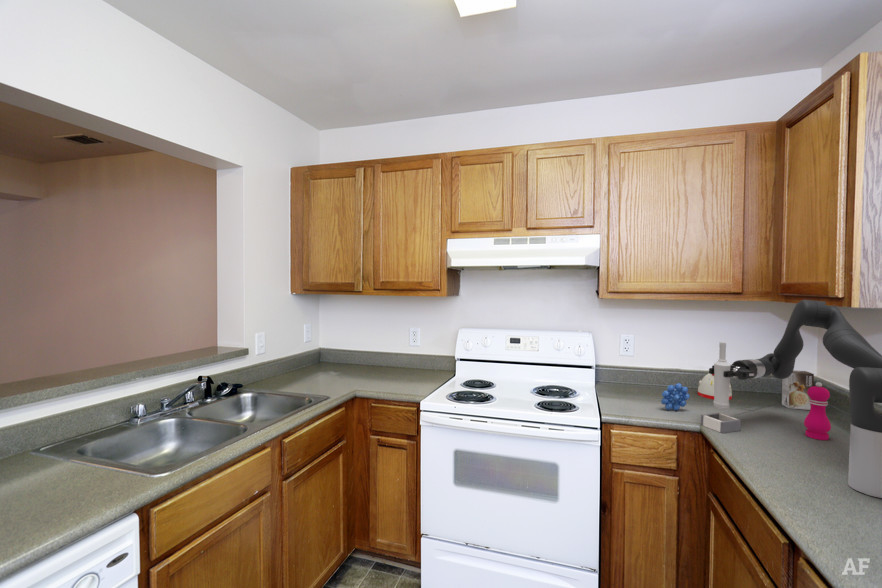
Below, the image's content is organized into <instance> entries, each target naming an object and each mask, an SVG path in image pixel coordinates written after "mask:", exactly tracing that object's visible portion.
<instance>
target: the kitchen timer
mask: <svg viewBox="0 0 882 588" xmlns="http://www.w3.org/2000/svg"><path fill="white" fill-rule="evenodd" d="M697 395H698V396H699V397H702V398H704V399H705V398H706V399H708V400H714V374H709V372H708V373H707V374H706V375H704V376H703V378H702V379H699V382H698V388H697ZM732 398H733V392H732V386H731V383H730V387H729V401H730V400H732Z"/></svg>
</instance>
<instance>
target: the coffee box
mask: <svg viewBox="0 0 882 588" xmlns="http://www.w3.org/2000/svg"><path fill="white" fill-rule="evenodd" d="M781 380H782V387H781V405H782V406H784V407H786V408H787V409H793V410H809V411H810V408H811V405H810V403H809V399H810V397H809V396H808V394H807V391H808V389H809V388H810V387H813V386H814V385H815V384H814V381H815V373H812V372H810V371H806V370H795V369H794V370H793V372H792V374H791V375H790V376H789V377H787V378H785V379H781Z"/></svg>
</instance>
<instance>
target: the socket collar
mask: <svg viewBox="0 0 882 588" xmlns="http://www.w3.org/2000/svg"><path fill="white" fill-rule="evenodd" d="M700 425H701V426H703V427H705V428H708V429H711V430H714V431H716V432H719V433H721V434H727V433H736V432H740V431H742V429H741V428H742V419H739V418H735V417H733V416H730V415H727V414H723V413H721V412H713V413H707V414H706V413H705V414H701V415H700Z"/></svg>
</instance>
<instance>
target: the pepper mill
mask: <svg viewBox="0 0 882 588" xmlns="http://www.w3.org/2000/svg"><path fill="white" fill-rule="evenodd" d="M807 394H808V396H809V397H810V399H809V403H810V405H811V408H810V410H809V413H808V414H807V415H806V417H805V418H804V420H803V425H804V427H805V428H806V429H805V433H804V434H805V436H806V437H808V438H811V439H815V440H819V441H828V440H829V439H830V438H829V437H830V435H829V432H830V431H831V429H832V425H831V422H830V420H829V418H828V416H827V413H826V407H827V406H828V404H829V401H828V400H829V398H830V397H831V393H830V391H829V390H828V389H827V388H825V387H824V386H823V383H822V382H821V381H820V382H819V381H818V382H816V383H815V386H813V387H810V388H809V389H808V391H807Z"/></svg>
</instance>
